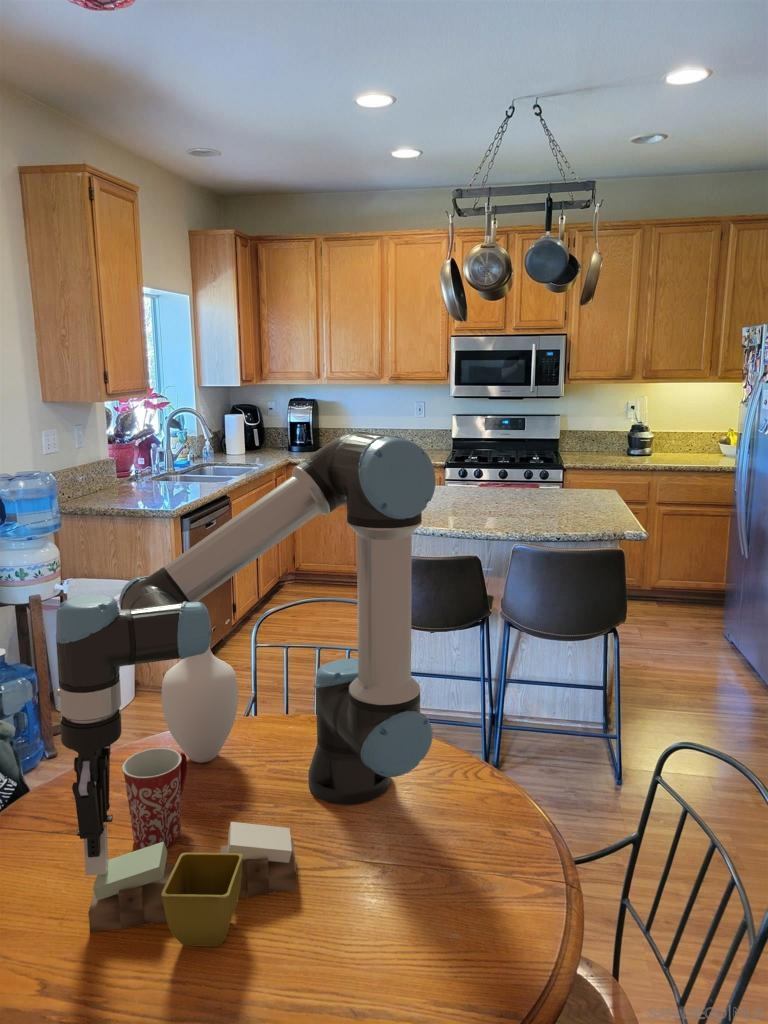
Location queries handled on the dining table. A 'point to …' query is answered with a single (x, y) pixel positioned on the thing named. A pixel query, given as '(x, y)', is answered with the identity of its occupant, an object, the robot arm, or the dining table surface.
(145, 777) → the mug
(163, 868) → the rocker green
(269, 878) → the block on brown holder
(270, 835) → the block
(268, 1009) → the dining table surface
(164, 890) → the flower pot
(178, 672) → the vase
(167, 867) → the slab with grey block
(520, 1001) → the dining table surface
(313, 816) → the dining table surface
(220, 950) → the dining table surface
